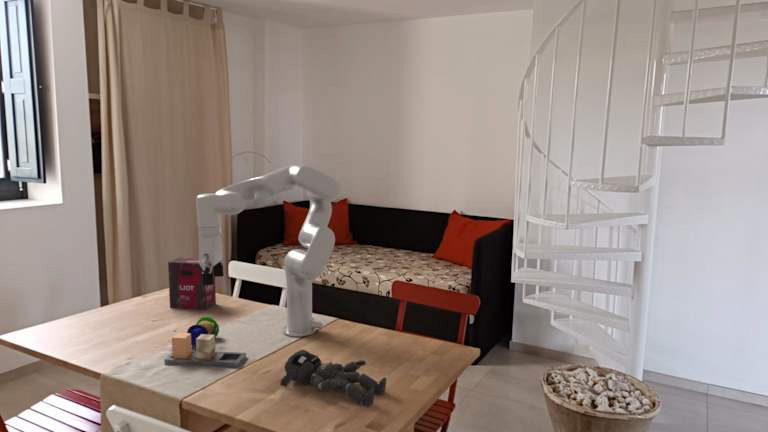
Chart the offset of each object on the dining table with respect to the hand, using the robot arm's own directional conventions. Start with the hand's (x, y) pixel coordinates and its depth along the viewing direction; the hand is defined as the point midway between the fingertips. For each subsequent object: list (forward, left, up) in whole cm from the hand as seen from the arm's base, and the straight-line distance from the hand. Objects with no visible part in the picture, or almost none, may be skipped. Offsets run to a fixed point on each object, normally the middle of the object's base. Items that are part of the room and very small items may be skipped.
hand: (213, 280), depth 186 cm
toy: (+7, -6, -25) cm, 27 cm away
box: (+28, -47, -25) cm, 60 cm away
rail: (-1, +11, -25) cm, 27 cm away
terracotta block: (+7, +11, -24) cm, 27 cm away
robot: (-44, +24, -26) cm, 57 cm away
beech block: (-1, +11, -24) cm, 26 cm away
